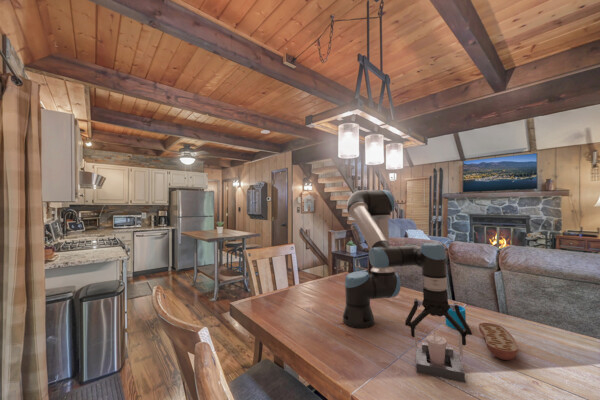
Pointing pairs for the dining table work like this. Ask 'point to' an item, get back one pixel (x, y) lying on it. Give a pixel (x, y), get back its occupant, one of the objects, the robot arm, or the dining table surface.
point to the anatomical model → (499, 341)
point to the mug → (456, 317)
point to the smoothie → (436, 348)
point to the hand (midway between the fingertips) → (437, 350)
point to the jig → (450, 373)
